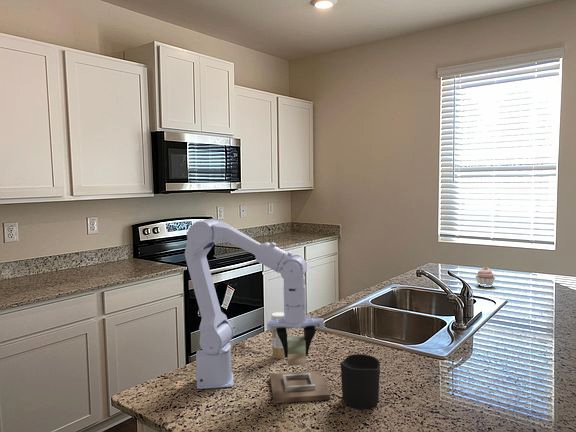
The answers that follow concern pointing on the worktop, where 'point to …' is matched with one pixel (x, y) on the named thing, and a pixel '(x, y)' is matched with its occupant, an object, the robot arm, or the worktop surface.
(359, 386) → the pen holder
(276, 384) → the walnut board
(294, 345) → the block stack
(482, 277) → the cupcake
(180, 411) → the worktop surface
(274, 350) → the sprinkles bottle
